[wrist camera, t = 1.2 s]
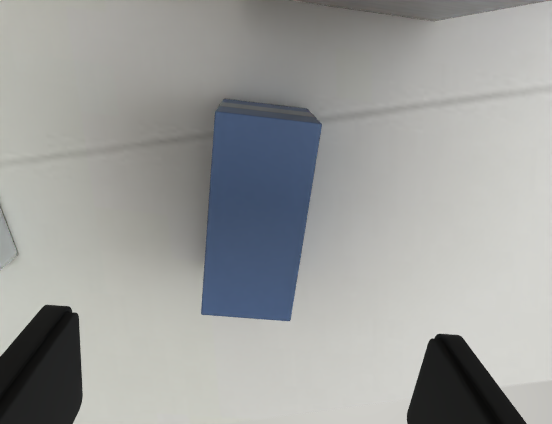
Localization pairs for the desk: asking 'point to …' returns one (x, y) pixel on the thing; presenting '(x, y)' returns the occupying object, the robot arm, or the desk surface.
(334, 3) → the walnut crate
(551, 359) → the desk surface
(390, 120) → the desk surface
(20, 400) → the robot arm
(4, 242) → the multiport hub
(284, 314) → the block
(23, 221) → the desk surface
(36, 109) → the desk surface
